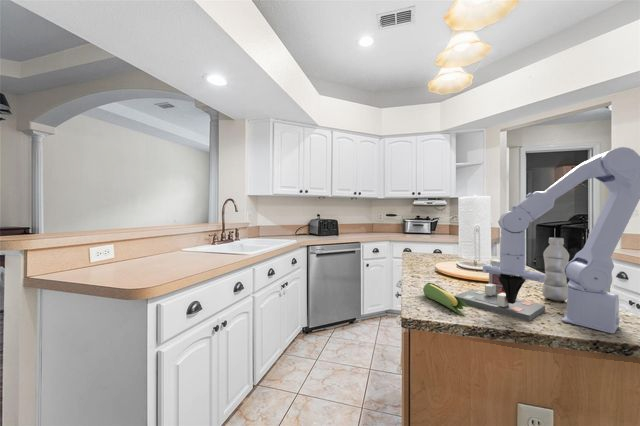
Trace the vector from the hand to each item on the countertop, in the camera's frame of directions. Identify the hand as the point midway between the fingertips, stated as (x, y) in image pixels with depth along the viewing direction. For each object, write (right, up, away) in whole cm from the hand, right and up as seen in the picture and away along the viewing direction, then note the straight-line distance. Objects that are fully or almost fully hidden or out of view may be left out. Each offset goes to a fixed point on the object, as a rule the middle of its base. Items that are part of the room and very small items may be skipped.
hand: (511, 302), depth 78 cm
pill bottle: (+9, -3, +20) cm, 22 cm away
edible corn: (-16, -3, +8) cm, 18 cm away
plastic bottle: (+22, -3, +12) cm, 26 cm away
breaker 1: (+1, -1, +12) cm, 12 cm away
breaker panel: (0, -3, +6) cm, 7 cm away
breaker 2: (-1, -1, +2) cm, 2 cm away
